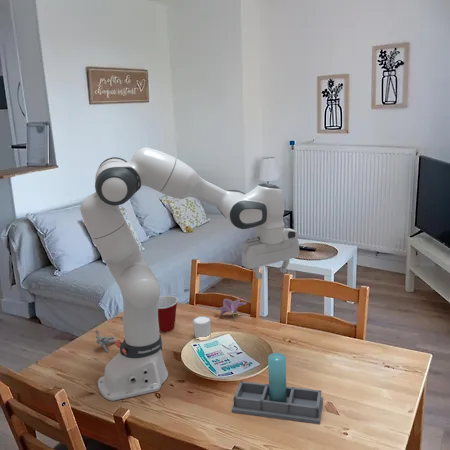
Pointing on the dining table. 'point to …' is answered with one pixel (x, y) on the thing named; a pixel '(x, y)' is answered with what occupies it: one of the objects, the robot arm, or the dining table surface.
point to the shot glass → (202, 326)
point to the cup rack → (278, 403)
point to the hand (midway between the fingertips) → (271, 275)
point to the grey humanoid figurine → (104, 340)
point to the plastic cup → (167, 313)
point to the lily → (230, 306)
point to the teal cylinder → (277, 377)
